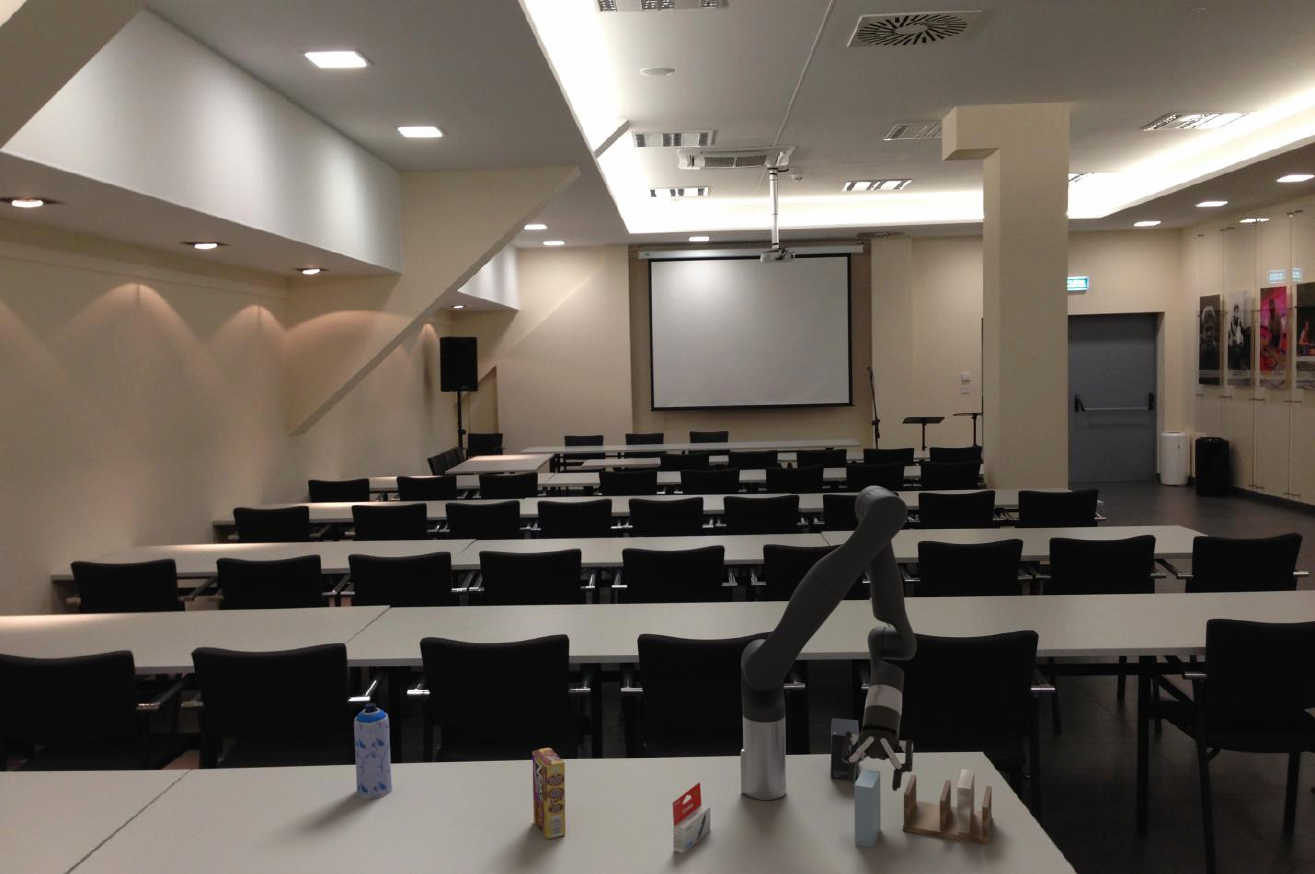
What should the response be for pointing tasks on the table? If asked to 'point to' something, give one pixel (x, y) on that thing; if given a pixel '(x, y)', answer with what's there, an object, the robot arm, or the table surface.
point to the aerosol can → (372, 753)
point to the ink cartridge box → (689, 820)
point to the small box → (837, 740)
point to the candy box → (549, 792)
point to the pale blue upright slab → (867, 808)
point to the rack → (949, 812)
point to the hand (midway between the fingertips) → (873, 786)
